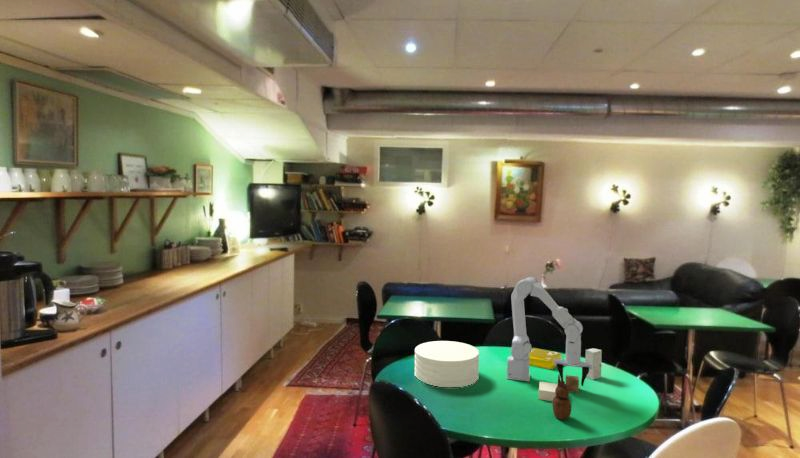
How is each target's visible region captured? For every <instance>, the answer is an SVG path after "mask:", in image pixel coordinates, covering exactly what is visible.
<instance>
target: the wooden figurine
mask: <svg viewBox="0 0 800 458" xmlns="http://www.w3.org/2000/svg"><path fill="white" fill-rule="evenodd" d="M557 377H558V378H557V384H558V386H557V387H556V390H555V394H556V396H555V397H554V398H553V401H551V403H552V405H551V406H552V410H553V415H554V417H555V418H557V419H558V420H560V421H561V420H563V421H564V420H568V419H569V417H570V415H571V414H572V404H571V401H570V399H569V396H570V392H569V390H568V388H567V386H566V384H565V382H566V380H564V377H563V378H562V377H560V374H558V375H557Z"/></svg>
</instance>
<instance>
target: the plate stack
mask: <svg viewBox="0 0 800 458" xmlns="http://www.w3.org/2000/svg"><path fill="white" fill-rule="evenodd" d="M479 367H480V351H479V349H478V348H476V347H475V346H473V345H471V344H468V343H465V342H459V341H455V340H454V341H452V340H451V341H450V340H436V341H434V340H433V341H427V342H423V343H419V344H418V345H417V346H415V348H414V377H415V376H416V377H417V378H418V379H419V380H421V381H423V382H425V383H427V384H430V385H434V386H439V387H461V388H464V387H463V386H466V387H469V386H468V385H470V386H472V385H474V384H476V383H477V382H478V381H479V372H480V371H479V369H480V368H479ZM477 380H478V381H477ZM476 381H477V382H476ZM475 382H476V383H475ZM473 383H474V384H473ZM471 384H472V385H471ZM434 386H433V387H434ZM439 387H438V388H439Z"/></svg>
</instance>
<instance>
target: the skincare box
mask: <svg viewBox="0 0 800 458" xmlns="http://www.w3.org/2000/svg"><path fill="white" fill-rule="evenodd" d="M602 351H603V350H602V349H598V348H594V347H593V348H588V349H585V355H584V356H585V357H584V358H585V359H584V362H587V363H592V369H589V373H588V374H587V376H586V378H587V379H589V380H596V379H600V378H602V359H603V358H602V353H603V352H602Z"/></svg>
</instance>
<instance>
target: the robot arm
mask: <svg viewBox="0 0 800 458" xmlns="http://www.w3.org/2000/svg"><path fill="white" fill-rule="evenodd" d="M529 295H530V297H531V296H532V297H534V298H535V297H536V298H538V299H539V300H540V301H541V302H543V304H545V306H546V307H548V309H550V311H551V314H552V315H551V316H552V317H553V318H554V319H555V320H556V321H557V323H558V324H559V325H560V326H561V327H562V328H563V329H564V330H563V331H564V334H565V335H566V339H565V358H564V359H563V358H561V359H554V365H557V366H556V369H557V372H558V375H559V376H560V378H561V377H562V378H563V379H564V366H565V367H573V368H574V367H575V368H581V381H580V383H581V384H580V386H582V387H584V385H585V381H586V378H587V377H586V376H587V374H588V373H589V369H592V363H587V362H585V361H584V360H583V361H582V360H581V353H582V349H581V348H582V340H581V338H582V333H583V329H584V327H583V325H582V323H581V322H580V320H579V321H578V320H577V319H576V318H575V317H574V318H573V316H572V314H570V313H569V310H568V308H567V307H564V306H559V305H558V304H557V303H556V301H555V300H554V299H553V298H552V296H551V295H550V294H549V292H548V291H547V290H546V289H545V287H544V286H543V284H542V283H541V282H540V281H538V279H537V278H536V277H535V276H534V277H533V276H528V277H526V278H523V279H520V280H519V281H517V282H516V283H515V287H514V288H513V291H512V293H511V295H510V298H511V311H512V312H511V314H512V324H513V337H512V341H511V348H510V354H511V355H509V356H507V362H506V363H507V364H506V365H507V366H506V379H507V380H508V379H509V380H515V381H521V382H530V381H531V380H530V379H531V374H530V365H529V362H530V357H529V353H530V352H531V350H532V348H533V347H532V344H531V343H530V338H529V336H528V335H527V325H526V323H527V321H526V314H525V312H526V311H525V310H526V309H525V300H524V299H526V298H527V296H529Z"/></svg>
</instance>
